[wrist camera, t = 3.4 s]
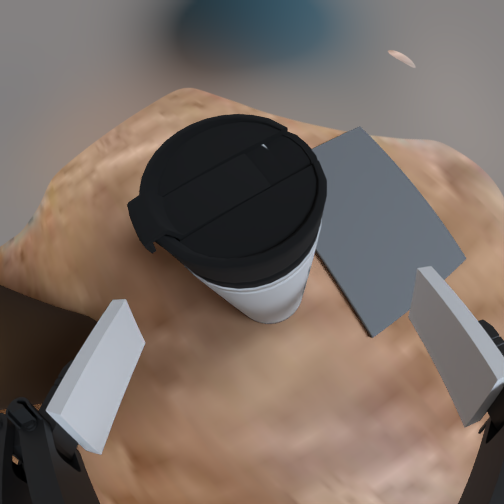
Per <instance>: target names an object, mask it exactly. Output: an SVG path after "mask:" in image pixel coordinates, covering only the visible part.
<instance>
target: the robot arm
mask: <svg viewBox="0 0 504 504" xmlns="http://www.w3.org/2000/svg"><path fill="white" fill-rule="evenodd" d="M409 319H410V321H411V322H412V324H413V326H414V328H415V329H416V331H417V333H418V335H419V336H420V338H421V340H422V342H423V343H424V345H425V347H426V349H427V351H428V353H429V354H430V356H431V358H432V360H433V362H434V364H435V366H436V368H437V370H438V372H439V374H440V376H441V378H442V380H443V382H444V384H445V386H446V388H447V390H448V392H449V394H450V396H451V398H452V400H453V402H454V405H455V407H456V409H457V411H458V413H459V416H460V418H461V420H462V423H463V425H464V427H467V426H469V425H471V424H474V423H476V422H478V421H480V420H481V419H482V417H483V416H484V415H485V413H486V412H488V414H489V416H490V417H489V419H488V420H487V421H486V422H485V423H484V425H483V426H482V427H481V428H480V430H479V432H478V433H479V434H480V433H481V432H482V431H483V430H484V429H485V431H484V434H483V438H482V442H481V445H480V448H479V451H478V454H477V457H476V460H475V463H474V466H473V469H472V472H471V474H470V477H469V479H468V482H467V484H466V487H465V489H464V492H463V494H462V496H461V498H460V501H459V503H458V504H504V341H503V339H502V338H501V337H499V334H498V333H497V331H496V330H495V329H494V327H493V326H492V325H490V324H489V323H487V322H486V321H484V320H480V321H477V319H476V318H475V317H474V316H473V314H472V313H471V312H470V311H469V309H468V308H467V307H466V306H465V304H464V303H463V302H462V301H461V299H460V298H459V297H458V296H457V295H456V294H455V292H454V291H453V290H452V289H451V288H450V286H449V285H448V284H447V283H446V282H445V281H444V280H443V278H442V277H441V276H440V275H439V274H438V273H437V272H436V271H435V270H434V268H433V267H432V266H428V267H421V268H417V273H416V280H415V286H414V291H413V297H412V302H411V307H410V312H409ZM144 345H145V341H144V339H143V337H142V335H141V333H140V330H139V328H138V326H137V324H136V322H135V319H134V317H133V315H132V312H131V310H130V308H129V305H128V303H127V301H126V299H120V300H112V302H111V303H110V305H109V306H108V307H107V309H106V310H105V312H104V313H103V315H102V316H101V318H100V319H99V321H98V323H97V324H96V326H95V327H94V329H93V330H92V332H91V333H90V335H89V336H88V338H87V340H86V341H85V343H84V344H83V346H82V348H81V349H80V351H79V352H78V354H77V356H76V357H75V359H74V360H71V361H70V362H69V363H67V364H66V365H65V366H64V367H63V369H62V370H61V372H60V374H59V375H58V378H57V379H56V381H55V382H54V386H52V387H51V389H50V391H49V393H48V394H47V396H46V398H45V400H44V402H43V404H42V405H41V407H40V409H39V411H38V410H37V409H36V408H35V407H34V406H33V405H32V404H31V403H30V401H29V400H28V399H26V398H24V397H19V398H16V399H15V400H13V401H12V402H11V403H10V404H9V405H8V407H7V410H6V415H5V414H3V413H0V504H100V502H99V500H98V498H97V496H96V493H95V491H94V489H93V486H92V484H91V481H90V479H89V476H88V474H87V471H86V469H85V466H84V463H83V460H82V457H81V454H80V453H79V451H78V450H77V449H76V448H77V445H78V444H80V445H81V446H82V447H83V448H84V449H85V450H86V451H90V452H93V453H97V454H100V455H101V454H102V451H103V448H104V446H105V443H106V440H107V437H108V435H109V432H110V429H111V427H112V424H113V421H114V419H115V416H116V413H117V411H118V408H119V406H120V403H121V401H122V398H123V395H124V393H125V390H126V388H127V386H128V383H129V381H130V378H131V376H132V373H133V371H134V369H135V366H136V364H137V362H138V359H139V357H140V355H141V352H142V350H143V348H144ZM12 455H13V456H14V457H16V458H17V459H18V465H17V464H15V463H14V462H13V461H12Z"/></svg>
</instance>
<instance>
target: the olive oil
mask: <svg viewBox="0 0 504 504" xmlns="http://www.w3.org/2000/svg"><path fill="white" fill-rule="evenodd" d="M96 324H97V322H96V321H95V320H93V319H92V318H90V317H88V316H85V315H82V314H78V313H75V312H71V311H68V310H65V309H62V308H58V307H55V306H52V305H50V304H47V303H44V302H41V301H39V300H36V299H33V298H31V297H28V296H25V295H23V294H20V293H18V292H15V291H13V290H11V289H8V288H6V287H4V286H1V285H0V410H2V409H7V407H8V405H9V404H10V403H11V402H12V401H13V400H15V399H16V398H19V397H24V398H26V399H28V400H29V401H30V403H31V404H32V405H35V404H41V403H43V402H44V400H45V398H46V396H47V394H48V393H49V391H50V389H51V387H52V386H54V382H55V381H56V379H57V378H58V375H59V374H60V372H61V370H62V369H63V367H64V366H65V365H66V364H67V363H69V362H70V361H71V360H74V359H75V357H76V356H77V354H78V352H79V351H80V349H81V348H82V346H83V344H84V343H85V341H86V340H87V338H88V336H89V335H90V333H91V332H92V330H93V329H94V327H95V326H96Z"/></svg>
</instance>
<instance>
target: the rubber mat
mask: <svg viewBox="0 0 504 504" xmlns="http://www.w3.org/2000/svg"><path fill="white" fill-rule="evenodd" d="M312 151H313V152H314V153H315V155H316V156H317V160H318V161H319V162H320V164H321V167H322V169H323V171H324V174H325V176H326V179H327V197H326V202H325V206H324V211H323V215H322V224H321V230H320V234H319V238H318V242H317V246H316V249H315V251H316V252H317V254H318V255H319V257H320V258H321V260H322V261H323V263H324V264H325V266H326V267H327V269H328V270H329V272H330V273H331V275H332V276H333V278H334V279H335V281H336V282H337V284H338V285H339V287H340V288H341V290H342V292H343V293H344V295H345V296H346V298H347V299H348V301H349V302H350V304H351V306H352V307H353V309H354V310H355V312H356V313H357V315H358V317H359V318H360V320H361V321H362V323H363V325H364V326H365V328H366V330H367V331H368V333H369V334H370V336H371V338H372V337H374V336H376V335H377V334H379V333H380V332H381V331H383V330H384V329H385V328H387V327H388V326H389V325H391V324H392V323H393V322H394V321H396V320H397V319H398V318H400V317H401V316H402V315H403V314H405V313H406V312H407V311H408V310H410V307H411V302H412V297H413V291H414V286H415V280H416V273H417V268H421V267H428V266H432V267H433V268H434V270H435V271H436V272H437V273H438V274H439V275H440V276H441V277H442V278H443V280H444V279H446V278H447V277H448V276H449V275H450V274H451V273H452V272H453V271H454V270H455V269H456V268H457V267H458V266H459V265H460V264H461V263H462V262H463V261H464V260H465V259H466V257H465V256H464V254H463V252H462V251H461V249H460V248H459V246H458V245H457V243H456V242H455V240H454V239H453V237H452V236H451V234H450V233H449V231H448V230H447V228H446V227H445V225H444V224H443V223H442V221H441V220H440V218H439V217H438V216H437V214H436V213H435V212H434V210H433V209H432V208H431V206H430V205H429V204H428V202H427V201H426V200H425V199H424V197H423V196H422V195H421V193H420V192H419V191H418V190H417V188H416V187H415V186H414V185H413V184H412V182H411V181H410V180H409V179H408V178H407V176H406V175H405V174H404V173H403V172H402V170H401V169H400V168H399V167H398V166H397V165H396V164H395V163H394V161H393V160H392V159H391V158H390V157H389V156H388V155H387V154H386V153H385V151H384V150H383V149H382V148H381V147H380V146H379V145H378V144H377V143H376V142H375V141H374V140H373V139H372V138H371V137H370V136H369V135H368V134H367V133H366V132H365V131H364V130H363V129H362V128H361V127H357V128H355V129H353V130H351V131H349V132H347V133H344V134H342V135H340V136H338V137H336V138H334V139H332V140H330V141H328V142H326V143H323V144H321V145H319V146H317V147H315V148H313V149H312Z"/></svg>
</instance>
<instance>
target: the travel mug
mask: <svg viewBox="0 0 504 504" xmlns="http://www.w3.org/2000/svg"><path fill="white" fill-rule="evenodd" d="M326 197H327V179H326V176H325V174H324V171H323V169H322V167H321V164H320V162H319V161H318V160H317V156H316V155H315V153H314V152H313V151H312V149H311V148H310V147H309V146H308V144H306V143H305V142H304V141H303V140H302V139H301V138H299V137H298V136H297V135H295V134H292V133H290V132H287V127H285V126H283V125H281V124H279V123H277V122H275V121H273V120H271V119H269V118H265V117H260V116H255V115H244V114H233V115H221V116H216V117H212V118H207V119H204V120H201V121H199V122H196V123H193V124H191V125H189V126H187V127H186V128H184V129H182V130H180V131H178V132H177V133H176V134H174V135H173V136H172V137H170V138H169V139H168V140H166V141H165V142H164V143H163V144H162V145H161V146H160V148H159V149H158V150H157V151H156V152H155V153H154V155H153V156H152V158H151V159H150V161H149V162H148V164H147V166H146V169H145V171H144V173H143V176H142V179H141V184H140V190H139V196H137V197H136V198H134V199H133V200H131V201H130V202H129V203H128V204H127V207H128V210H129V216H130V219H131V221H132V224H133V226H134V229H135V231H136V233H137V235H138V237H139V239H140V241H141V243H142V244H143V245H144V247H145V248H146V249H147V250H149V251H150V252H151V253H154V252H156V249H155V247H154V244H153V242H156V243H157V244H159V245H160V246H162V247H163V248H164V249H166V250H167V251H168V252H169V253H170V254H172V255H173V256H174V257H175V258H176V259H177V260H179V261H180V262H181V263H182V264H183V265H184V266H185V267H186V268H187V269H188V270H189V271H190V272H191V273H192V274H193V275H194V276H196V277H197V278H198V279H200V280H201V281H202V282H203V283H205V284H206V285H207V286H208V287H210V288H211V289H212V290H214V291H215V292H216V293H217V294H219V295H220V296H221V297H223V298H224V299H225V300H227V301H228V302H229V303H231V304H232V305H233V306H235V307H236V308H237V309H239V310H240V311H241V312H243V313H244V314H245V315H247V316H248V317H249V318H251V319H253V320H254V321H257V322H260V323H265V324H274V323H278V322H282V321H284V320H286V319H288V318H289V317H290V316H291V315H293V314H294V312H295V311H296V310H297V309H298V307H299V305H300V303H301V300H302V296H303V293H304V290H305V286H306V282H307V279H308V275H309V272H310V268H311V264H312V261H313V257H314V253H315V249H316V246H317V242H318V238H319V234H320V230H321V224H322V215H323V211H324V206H325V202H326Z"/></svg>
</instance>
